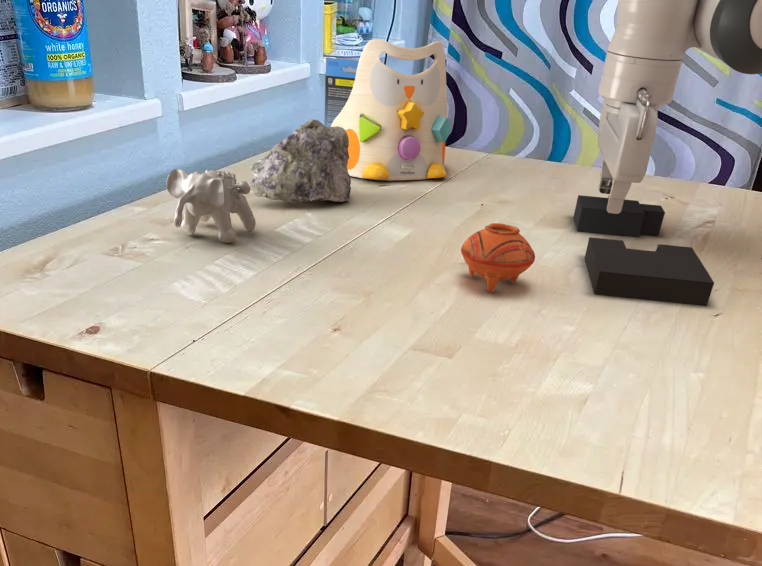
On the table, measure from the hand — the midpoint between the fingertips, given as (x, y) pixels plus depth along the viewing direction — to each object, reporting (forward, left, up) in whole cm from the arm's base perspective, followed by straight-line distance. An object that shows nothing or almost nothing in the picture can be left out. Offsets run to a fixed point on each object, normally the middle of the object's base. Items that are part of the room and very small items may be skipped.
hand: (608, 201), depth 106 cm
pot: (+15, +26, -3) cm, 30 cm away
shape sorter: (+30, -18, -3) cm, 35 cm away
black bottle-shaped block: (-2, 0, -3) cm, 4 cm away
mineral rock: (+41, +1, -3) cm, 41 cm away
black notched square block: (-2, +20, -3) cm, 20 cm away
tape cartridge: (+40, -39, -3) cm, 56 cm away
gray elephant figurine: (+48, +21, -3) cm, 52 cm away
